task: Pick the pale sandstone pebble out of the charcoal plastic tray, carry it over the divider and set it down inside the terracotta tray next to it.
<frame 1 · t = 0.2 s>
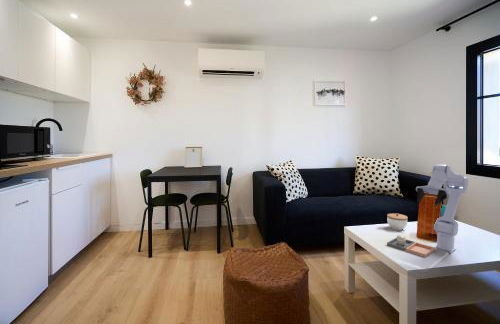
hand: (426, 203, 125), 31 cm above the table, tool tilted 45°, fingers open, 7 cm apart
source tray: (400, 246, 148), on the table
vase: (440, 233, 168), on the table
lidded bowl: (396, 228, 178), on the table
pebble: (401, 244, 148), point 1 cm above the table, touching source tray
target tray: (420, 252, 140), on the table
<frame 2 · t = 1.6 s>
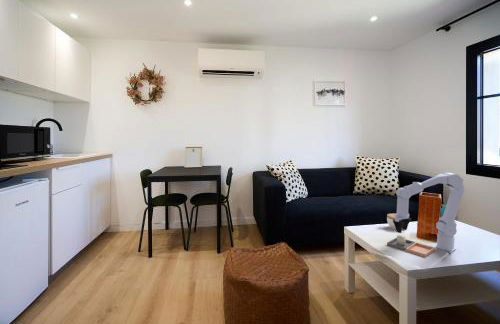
hand: (401, 231, 147), 9 cm above the table, tool pointing down, fingers open, 7 cm apart
nothing on the table moved.
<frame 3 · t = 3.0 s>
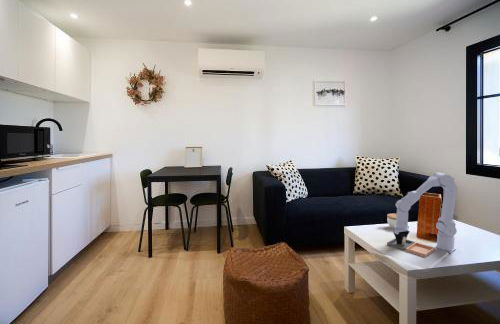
hand: (401, 243, 148), 2 cm above the table, tool pointing down, fingers closed on pebble, 4 cm apart
pebble: (401, 244, 148), point 1 cm above the table, touching gripper, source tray
everything else where it was.
when the fingers open (3 cm above the table, at t = 6.5 s): pebble drops 1 cm, resting on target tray.
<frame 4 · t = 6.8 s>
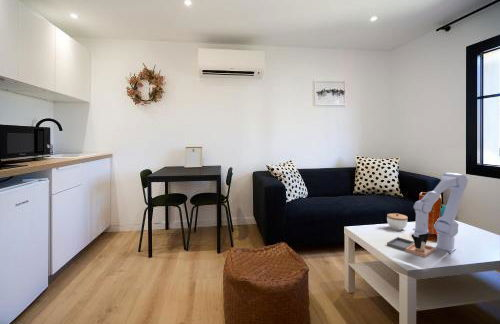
hand: (420, 246, 140), 3 cm above the table, tool pointing down, fingers open, 7 cm apart
pebble: (420, 250, 140), point 1 cm above the table, touching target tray
everything else where it was.
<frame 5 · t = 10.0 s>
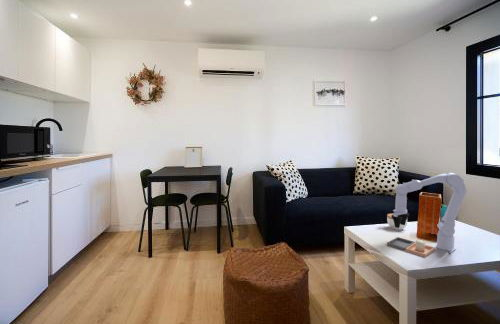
hand: (399, 226, 152), 10 cm above the table, tool pointing down, fingers open, 7 cm apart
nothing on the table moved.
at the end: pebble inside the target area on the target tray (0.1 cm from its centre), point 1.0 cm above the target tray's base; the gripper is holding nothing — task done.
